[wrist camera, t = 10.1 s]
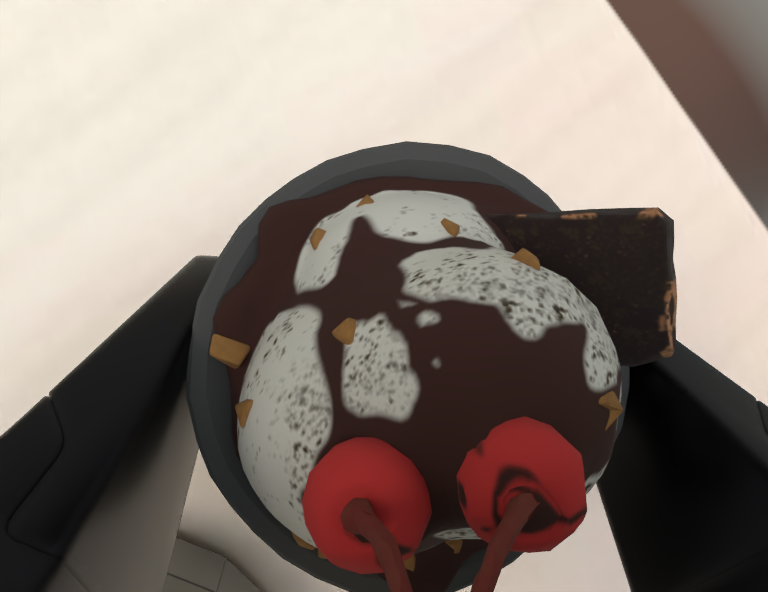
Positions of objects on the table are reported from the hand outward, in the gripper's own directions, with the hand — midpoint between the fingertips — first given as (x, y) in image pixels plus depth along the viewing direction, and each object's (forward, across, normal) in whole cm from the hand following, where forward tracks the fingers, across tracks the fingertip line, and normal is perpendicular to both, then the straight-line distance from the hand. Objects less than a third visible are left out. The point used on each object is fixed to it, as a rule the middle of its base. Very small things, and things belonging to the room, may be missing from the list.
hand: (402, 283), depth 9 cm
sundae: (+5, 0, +7) cm, 8 cm away
